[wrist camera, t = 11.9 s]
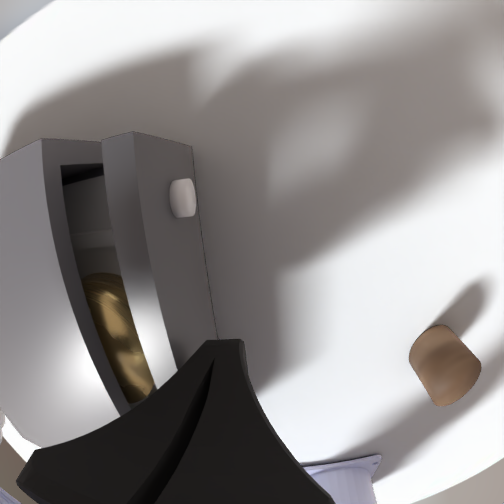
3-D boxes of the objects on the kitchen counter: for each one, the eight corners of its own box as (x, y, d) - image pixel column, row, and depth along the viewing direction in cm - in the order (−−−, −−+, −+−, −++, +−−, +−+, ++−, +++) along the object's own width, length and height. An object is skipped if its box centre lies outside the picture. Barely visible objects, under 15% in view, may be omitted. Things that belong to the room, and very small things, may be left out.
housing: (190, 416, 15) (169, 489, 10) (56, 392, 16) (22, 437, 11) (130, 145, 11) (41, 138, 5) (-10, 193, 12) (-74, 211, 6)
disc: (180, 377, 12) (168, 411, 10) (89, 365, 13) (69, 391, 10) (157, 271, 11) (133, 296, 9) (58, 272, 11) (28, 291, 9)
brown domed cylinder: (444, 362, 14) (469, 396, 10) (403, 373, 14) (425, 412, 11) (457, 320, 13) (488, 352, 9) (414, 330, 13) (443, 368, 10)
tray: (241, 415, 15) (233, 489, 10) (78, 396, 16) (45, 444, 10) (203, 144, 11) (152, 126, 5) (11, 193, 11) (-57, 211, 6)
